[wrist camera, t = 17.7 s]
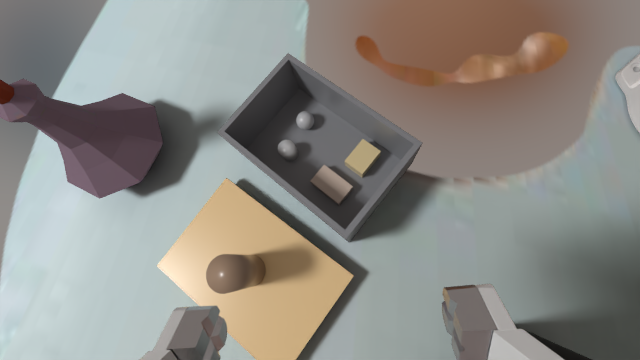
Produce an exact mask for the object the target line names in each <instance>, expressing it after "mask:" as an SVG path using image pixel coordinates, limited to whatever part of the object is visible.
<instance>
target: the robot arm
mask: <svg viewBox="0 0 640 360" xmlns="http://www.w3.org/2000/svg"><path fill="white" fill-rule="evenodd" d="M633 70H634V71H635V72H634V71H633ZM616 81H617V83H618V85H619V86H620V88H621V89H622V91H623V92H624V94H625V96H626V100H627V106H628V112H629V115H630V118H631V120H632V122H633V124H634V126H635V127H636V129H637V130H638V131H639V133H640V53H639V54H638V55H637V56H636V57H634V58H633V59H632V60H631V61H630V62H629V63H627V64H626V65H625V66H624V67H623V68H622V69H621V70H619V71H618V72H617V74H616ZM443 297H444V300H445V301H444V302H443V303H442V314H443V320H444V324H445V327H446V330H447V332H448V333H449V334H450V335H451V336H452V344H451V345H452V348H453V351H454V354H455V356H456V359H457V360H564V359H563V358H561V357H560V356H559V355H557V354H556V353H555V352H553V351H552V350H551V349H549V348H548V347H546V346H545V345H544V344H542V343H541V342H540V341H538V340H537V339H536V338H534V337H533V336H531V335H530V334H529V333H527V332H526V331H525V330H523V329H517V328H516V326H515V324H514V322H513V320H512V319H511V317H510V315H509V313H508V311H507V310H506V308H505V306H504V304H503V302H502V301H501V299H500V297H499V295H498V293H497V292H496V290H495V288H494V286H492V285H491V284H482V285H465V286H454V287H444V289H443ZM219 313H220V310H219V308H218V307H217V305H216V306H196V307H179V308H176V309H175V310H174V311H173V312H172V314H171V316H170V318H169V320H168V321H167V323H166V325H165V327H164V329H163V331H162V333H161V335H160V337H159V339H158V341H157V343H156V345H155V347H154V349H153V351H148V352H147V353H146V354H145V355H144V356H143V357H142V358H140V359H139V360H220V355H219V352H218V351H219V350H220V349H221V348H222V347H223V346H224V345H225V341H226V338H227V325H226V321H225V319H224V318H222V317H221V316H219Z"/></svg>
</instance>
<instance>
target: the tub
mask: <svg viewBox="0 0 640 360" xmlns="http://www.w3.org/2000/svg"><path fill="white" fill-rule="evenodd" d="M217 133H218V134H219V135H220V136H222V137H223V138H224V139H225V140H226V141H227V142H229V143H230V144H231V145H232V146H233V147H234V148H235V149H237V150H238V151H239V152H240V153H241V154H242V155H244V156H245V157H246V158H247V159H249V160H250V161H251V162H252V163H253V164H255V165H256V166H257V167H258V168H259V169H261V170H262V171H263V172H264V173H266V174H267V175H268V176H269V177H270V178H272V179H273V180H274V181H275V182H276V183H278V184H279V185H280V186H281V187H282V188H284V189H285V190H286V191H287V192H289V193H290V194H291V195H292V196H293V197H295V198H296V199H297V200H298V201H299V202H301V203H302V204H303V205H304V206H306V207H307V208H308V209H309V210H310V211H312V212H313V213H314V214H315V215H316V216H318V217H319V218H320V219H321V220H322V221H324V222H325V223H326V224H327V225H329V226H330V227H331V228H332V229H333V230H335V231H336V232H337V233H338V234H339V235H341V236H342V237H343V238H344V239H346V240H347V241H348V242H350V241H351V239H352V238H353V237H354V236H355V234H356V233H357V232H358V231H359V229H360V228H361V227H362V225H363V224H364V223H365V222H366V220H367V219H368V218H369V217H370V215H371V214H372V213H373V212H374V210H375V209H376V208H377V207H378V205H379V204H380V203H381V202H382V200H383V199H384V198H385V197H386V195H387V194H388V193H389V191H390V190H391V189H392V188H393V186H394V185H395V184H396V183H397V181H398V180H399V179H400V178H401V176H402V175H403V174H404V173H405V171H406V170H407V169H408V168H409V166H410V165H411V164H412V162H413V160H414V158H415V156H416V154H417V152H418V151H419V149H420V147H421V145H422V142H420V141H419V140H417V139H416V138H414V137H413V136H411V135H410V134H408V133H407V132H405V131H404V130H402V129H401V128H399V127H398V126H396V125H395V124H393V123H392V122H390V121H389V120H387V119H386V118H384V117H383V116H381V115H380V114H378V113H377V112H375V111H374V110H372V109H371V108H369V107H368V106H366V105H365V104H363V103H362V102H360V101H359V100H357V99H356V98H354V97H353V96H351V95H350V94H348V93H347V92H345V91H344V90H342V89H341V88H339V87H338V86H336V85H335V84H334V83H332V82H331V81H329V80H327V79H326V78H324V77H323V76H322V75H320V74H319V73H317V72H316V71H314V70H312V69H311V68H310V67H308V66H307V65H305V64H304V63H302V62H301V61H299V60H298V59H296V58H295V57H293V56H292V55H290V54H289V53H288V54H287V55H286V56H285V57H284V58H283V59H282V60H281V61H280V63H279V64H278V65H277V66H276V67H275V68H274V69H273V70H272V71H271V73H270V74H269V75H268V76H267V77H266V78H265V79H264V80H263V82H262V83H261V84H260V85H259V86H258V87H257V88H256V89H255V90H254V92H253V93H252V94H251V95H250V96H249V97H248V98H247V99H246V100H245V102H244V103H243V104H242V105H241V106H240V107H239V108H238V109H237V110H236V112H235V113H234V114H233V115H232V116H231V117H230V118H229V119H228V121H227V122H226V123H225V124H224V125H223V126H222V127H221V128H220V129H219V131H218V132H217Z"/></svg>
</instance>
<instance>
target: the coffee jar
mask: <svg viewBox="0 0 640 360" xmlns="http://www.w3.org/2000/svg"><path fill="white" fill-rule="evenodd" d="M517 329H518V328H517ZM525 331H526V330H525ZM526 332H527V333H529V334H530V335H531V336H533V337H534V338H536V339H537V340H538V341H540V342H541V343H542V344H544V345H545V346H546V347H548V348H549V349H551V350H552V351H553V352H555V353H556V354H557V355H559V356H560V357H561V358H563V359H564V360H591V359H589V358H587V357H584V356H582V355H580V354H578V353H575V352H573V351H571V350H569V349H566V348H564V347H562V346H560V345H557V344H555V343H553V342H551V341H548V340H546V339H544V338H541V337H539V336H537V335H535V334H532V333H530V332H528V331H526Z"/></svg>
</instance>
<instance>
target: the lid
mask: <svg viewBox="0 0 640 360" xmlns="http://www.w3.org/2000/svg"><path fill="white" fill-rule="evenodd" d="M157 266H158V267H159V268H160V269H161V270H162V271H163V272H164V273H165V274H166V275H167V276H168V277H169V278H170V279H171V280H172V281H173V282H175V283H176V284H177V285H178V286H179V287H180V288H181V289H182V290H183V291H184V292H185V293H186V294H187V295H188V296H189V297H190V298H192V299H193V300H194V301H195V302H196V303H197V304H198V305H199V306H216V305H217V307H218V308H219V310H220V313H219V316H221V317H222V318H224V319H225V321H226V325H227V332H228V333H229V334H230V335H231V336H232V337H233V338H234V339H235V340H236V341H237V342H238V343H239V344H240V345H241V346H242V347H244V348H245V349H246V350H247V351H248V352H249V353H250V354H251V355H252V356H253V357H254V358H255V359H256V360H296V358H297V357H298V356H299V354H300V353H301V351H302V350H303V348H304V347H305V345H306V344H307V343H308V341H309V340H310V338H311V337H312V335H313V334H314V332H315V331H316V330H317V328H318V327H319V325H320V324H321V322H322V321H323V320H324V318H325V317H326V315H327V314H328V312H329V311H330V309H331V308H332V307H333V305H334V304H335V302H336V301H337V299H338V298H339V296H340V295H341V294H342V292H343V291H344V289H345V288H346V286H347V285H348V283H349V282H350V281H351V279H352V278H353V276H354V275H353V274H352V273H350V272H349V271H348V270H346V269H345V268H344V267H342V266H341V265H340V264H339V263H337V262H336V261H335V260H333V259H332V258H331V257H329V256H328V255H327V254H325V253H324V252H323V251H322V250H320V249H319V248H318V247H316V246H315V245H314V244H312V243H311V242H310V241H309V240H307V239H306V238H305V237H303V236H302V235H301V234H299V233H298V232H297V231H295V230H294V229H293V228H292V227H290V226H289V225H288V224H286V223H285V222H284V221H282V220H281V219H280V218H279V217H277V216H276V215H275V214H273V213H272V212H271V211H269V210H268V209H267V208H266V207H264V206H263V205H262V204H260V203H259V202H258V201H256V200H255V199H254V198H252V197H251V196H250V195H249V194H247V193H246V192H245V191H243V190H242V189H241V188H239V187H238V186H237V185H236V184H234V183H233V182H232V181H230V180H229V179H227V178H226V179H225V180H224V181H223V183H222V184H221V185H220V186H219V188H218V189H217V190H216V192H215V193H214V194H213V195H212V197H211V198H210V199H209V200H208V202H207V203H206V204H205V205H204V207H203V208H202V209H201V211H200V212H199V213H198V214H197V216H196V217H195V218H194V219H193V221H192V222H191V223H190V224H189V226H188V227H187V228H186V229H185V231H184V232H183V233H182V235H181V236H180V237H179V238H178V240H177V241H176V242H175V243H174V245H173V246H172V247H171V248H170V250H169V251H168V252H167V254H166V255H165V256H164V257H163V259H162V260H161V261H160V262H159V264H158V265H157Z"/></svg>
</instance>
